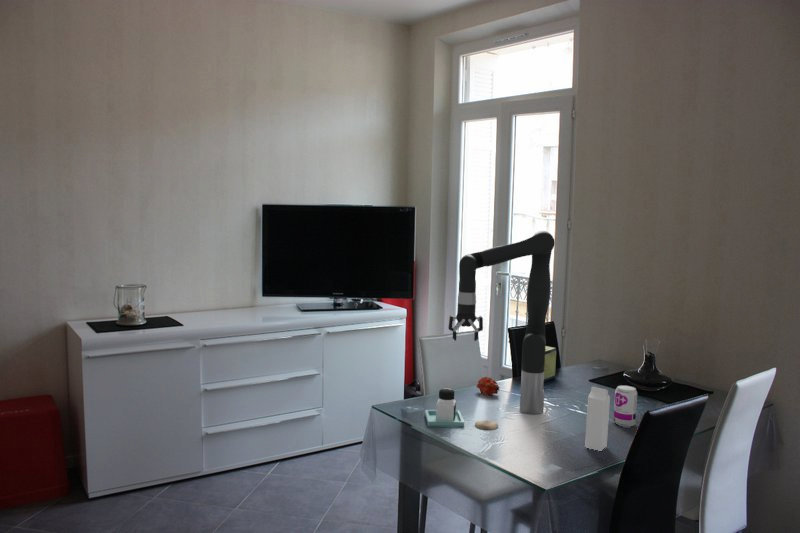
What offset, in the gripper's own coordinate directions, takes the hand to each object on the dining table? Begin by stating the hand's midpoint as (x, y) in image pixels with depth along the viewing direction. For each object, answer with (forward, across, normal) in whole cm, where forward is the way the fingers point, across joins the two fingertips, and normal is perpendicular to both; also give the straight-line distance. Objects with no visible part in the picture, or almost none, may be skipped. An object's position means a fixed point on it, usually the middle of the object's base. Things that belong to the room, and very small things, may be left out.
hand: (465, 340), depth 279 cm
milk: (+28, -42, +46) cm, 68 cm away
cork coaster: (+28, -6, +25) cm, 38 cm away
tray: (+28, +10, +20) cm, 36 cm away
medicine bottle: (+28, +9, +20) cm, 35 cm away
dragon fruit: (+28, -14, -16) cm, 35 cm away
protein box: (+28, -44, -43) cm, 68 cm away
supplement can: (+28, -62, +21) cm, 71 cm away
